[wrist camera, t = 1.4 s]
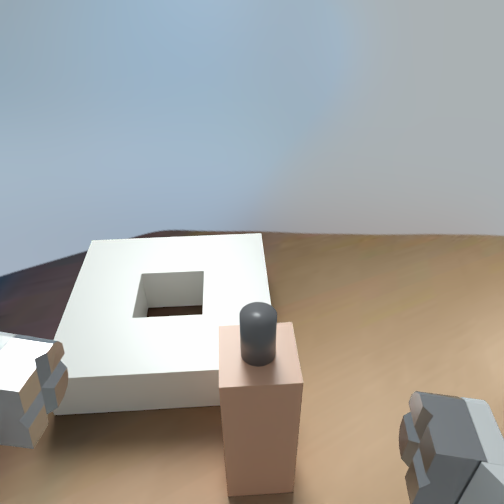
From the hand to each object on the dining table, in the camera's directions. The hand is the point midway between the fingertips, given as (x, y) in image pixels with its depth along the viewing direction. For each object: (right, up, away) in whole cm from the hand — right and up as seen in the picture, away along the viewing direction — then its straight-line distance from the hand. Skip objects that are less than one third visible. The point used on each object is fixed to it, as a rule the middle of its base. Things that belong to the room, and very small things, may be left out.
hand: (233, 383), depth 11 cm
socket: (-7, -4, +33) cm, 34 cm away
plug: (+1, -12, +22) cm, 26 cm away
